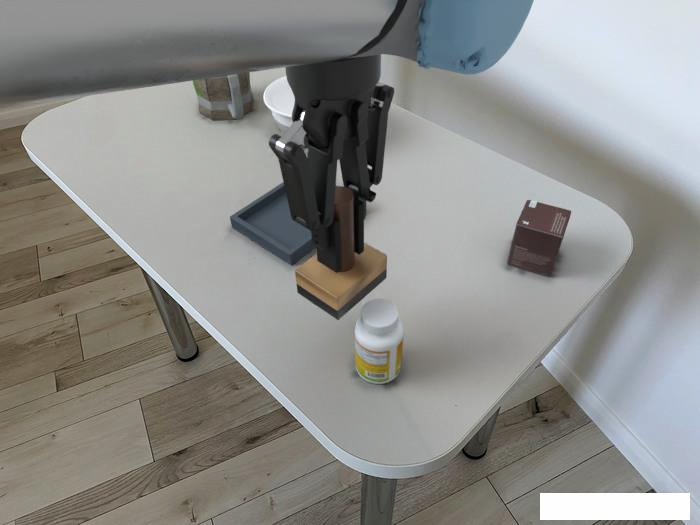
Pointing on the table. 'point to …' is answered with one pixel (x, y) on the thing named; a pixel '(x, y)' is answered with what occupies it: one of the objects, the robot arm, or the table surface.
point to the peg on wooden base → (356, 273)
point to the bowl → (280, 102)
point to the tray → (274, 226)
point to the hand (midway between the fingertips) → (340, 255)
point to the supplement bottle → (378, 342)
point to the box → (538, 237)
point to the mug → (224, 96)
